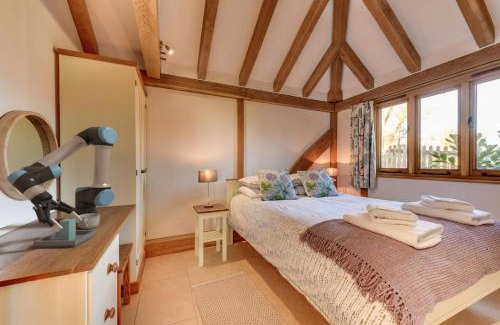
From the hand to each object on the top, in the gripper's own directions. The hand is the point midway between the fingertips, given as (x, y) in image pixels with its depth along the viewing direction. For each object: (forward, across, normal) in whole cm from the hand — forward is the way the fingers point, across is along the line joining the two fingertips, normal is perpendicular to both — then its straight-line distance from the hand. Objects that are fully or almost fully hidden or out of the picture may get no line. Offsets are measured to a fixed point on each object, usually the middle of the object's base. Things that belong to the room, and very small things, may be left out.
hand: (70, 225), depth 106 cm
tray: (+5, 0, -7) cm, 8 cm away
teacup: (+3, -20, -9) cm, 22 cm away
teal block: (+4, 0, -6) cm, 7 cm away
